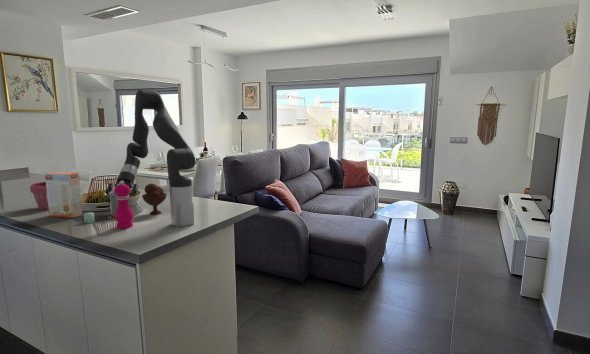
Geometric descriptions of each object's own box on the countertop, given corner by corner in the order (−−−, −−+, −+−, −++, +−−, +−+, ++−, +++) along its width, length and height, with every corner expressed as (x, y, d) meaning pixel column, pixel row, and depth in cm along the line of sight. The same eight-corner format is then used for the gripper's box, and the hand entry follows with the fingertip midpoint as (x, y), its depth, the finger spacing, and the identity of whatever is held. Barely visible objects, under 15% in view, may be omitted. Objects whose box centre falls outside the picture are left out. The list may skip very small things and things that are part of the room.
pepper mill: (129, 223, 151) (126, 178, 148) (137, 226, 147) (134, 180, 144) (112, 226, 146) (108, 180, 143) (120, 230, 141) (116, 182, 138)
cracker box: (83, 215, 163) (79, 172, 159) (72, 218, 157) (67, 174, 154) (60, 213, 166) (56, 170, 163) (48, 216, 161) (44, 172, 157)
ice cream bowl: (159, 217, 161) (157, 185, 159) (138, 215, 163) (136, 184, 161) (171, 211, 171) (170, 182, 169) (151, 210, 174) (150, 181, 171)
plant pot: (62, 209, 173) (59, 185, 171) (28, 212, 167) (25, 186, 165) (69, 203, 186) (66, 180, 184) (38, 205, 181) (35, 181, 179)
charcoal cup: (128, 212, 168) (127, 192, 167) (121, 216, 162) (120, 195, 160) (116, 212, 168) (114, 192, 167) (108, 216, 162) (106, 195, 161)
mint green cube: (96, 222, 152) (95, 213, 152) (86, 224, 149) (85, 215, 149) (93, 220, 155) (92, 211, 154) (83, 222, 152) (82, 213, 151)
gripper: (110, 170, 170) (98, 198, 161) (138, 170, 170) (128, 198, 160) (117, 179, 176) (106, 206, 167) (144, 179, 176) (134, 206, 166)
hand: (117, 202), depth 163 cm, fingers open, 7 cm apart
